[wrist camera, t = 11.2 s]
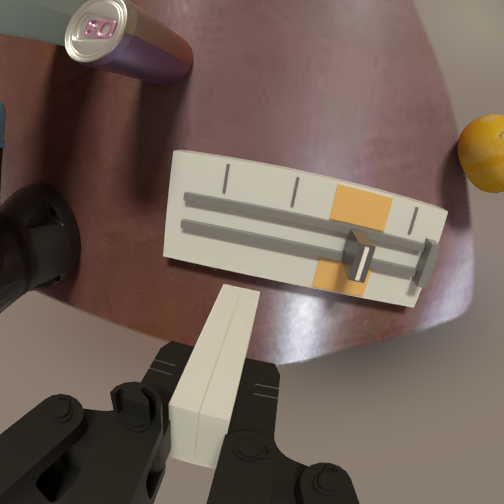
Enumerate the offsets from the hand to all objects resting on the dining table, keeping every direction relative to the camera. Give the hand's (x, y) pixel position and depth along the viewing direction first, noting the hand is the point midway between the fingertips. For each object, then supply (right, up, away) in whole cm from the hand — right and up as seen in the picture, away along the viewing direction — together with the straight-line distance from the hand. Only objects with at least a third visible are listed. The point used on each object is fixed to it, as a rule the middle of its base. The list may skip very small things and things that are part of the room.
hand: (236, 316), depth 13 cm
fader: (+11, +4, +19) cm, 22 cm away
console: (+6, +5, +21) cm, 23 cm away
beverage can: (-8, +24, +17) cm, 30 cm away
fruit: (+26, +15, +15) cm, 34 cm away
